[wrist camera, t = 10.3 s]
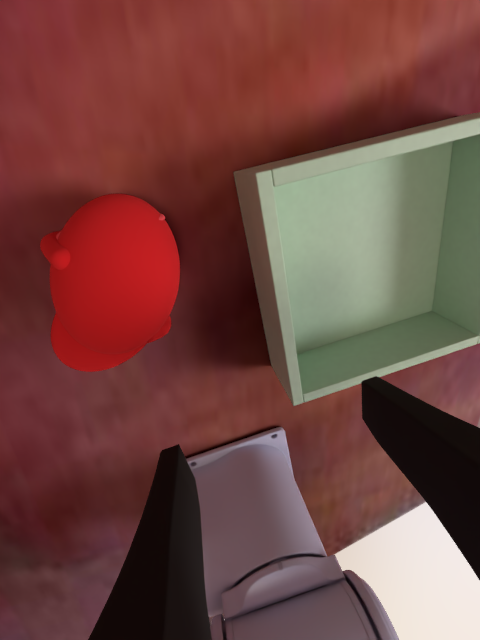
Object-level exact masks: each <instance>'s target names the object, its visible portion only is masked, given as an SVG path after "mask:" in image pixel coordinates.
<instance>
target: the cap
mask: <svg viewBox="0 0 480 640" xmlns="http://www.w3.org/2000/svg"><path fill="white" fill-rule="evenodd" d="M40 248H41V251H42V253H43V255H44V256H45V257H46V259H47V260H48V261H49V262H50V264H51V265H50V289H51V296H52V300H53V304H54V307H55V310H56V314H55V317H54V320H53V323H52V328H51V343H52V347H53V350H54V352H55V354H56V355H57V357H58V358H59V359H60V360H61V361H62V362H63V363H64V364H65V365H67V366H69V367H71V368H73V369H76V370H80V371H87V372H93V371H101V370H106V369H109V368H112V367H115V366H117V365H119V364H121V363H123V362H125V361H127V360H128V359H130V358H131V357H133V356H134V355H135V354H137V353H138V352H139V351H140V350H141V349H142V348H143V347H144V346H145V345H146V344H147V343H150V342H153V341H155V340H157V339H159V338H161V337H163V336H164V335H166V334H167V333H168V332H169V330H170V328H171V318H170V313H171V310H172V308H173V306H174V303H175V300H176V297H177V293H178V288H179V280H180V261H179V254H178V249H177V245H176V242H175V239H174V236H173V234H172V231H171V229H170V227H169V226H168V224H167V222H166V221H165V216H164V215H163V214H161V213H159V212H158V211H157V210H156V209H155V208H154V207H152V206H151V205H150V204H148V203H147V202H145V201H144V200H142V199H140V198H137V197H135V196H131V195H127V194H108V195H104V196H101V197H98V198H95V199H93V200H91V201H89V202H88V203H86V204H85V205H83V206H82V207H81V208H79V209H78V210H77V211H76V212H75V213H74V214H73V215H72V216H71V218H70V219H69V220H68V221H67V223H66V224H65V226H64V227H63V229H62V231H57V232H52V233H49V234H47V235H46V236H44V237H43V238H42V240H41V243H40Z"/></svg>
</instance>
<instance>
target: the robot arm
mask: <svg viewBox="0 0 480 640" xmlns="http://www.w3.org/2000/svg"><path fill="white" fill-rule="evenodd" d="M362 418H363V420H364V422H365V423H366V425H367V426H368V428H369V430H370V431H371V433H372V434H373V436H374V437H375V439H376V440H377V442H378V443H379V444H380V446H381V447H382V448H383V449H384V451H385V452H386V453H387V454H388V455H389V457H390V458H391V459H392V460H393V462H394V463H395V464H396V465H397V466H398V468H399V469H400V470H401V471H402V473H403V474H404V475H405V476H406V477H407V479H408V480H409V481H410V482H411V483H412V485H413V486H414V487H415V488H416V490H417V491H418V492H419V493H420V494H421V496H422V497H423V498H424V499H425V501H426V502H427V503H428V505H429V506H430V507H431V509H432V510H433V511H434V513H435V514H436V516H437V517H438V518H439V520H440V522H441V523H442V524H443V526H444V527H445V529H446V530H447V532H448V533H449V534H450V536H451V537H452V539H453V540H454V542H455V543H456V545H457V546H458V548H459V549H460V551H461V552H462V554H463V555H464V557H465V558H466V560H467V561H468V563H469V564H470V566H471V567H472V569H473V571H474V572H475V574H476V575H477V577H478V578H479V580H480V428H478V427H476V426H474V425H472V424H469V423H467V422H465V421H463V420H461V419H458V418H456V417H454V416H452V415H450V414H448V413H446V412H443V411H441V410H439V409H437V408H435V407H433V406H431V405H429V404H427V403H426V402H424V401H422V400H420V399H418V398H416V397H414V396H412V395H410V394H408V393H407V392H405V391H403V390H401V389H399V388H397V387H395V386H394V385H392V384H390V383H388V382H386V381H384V380H383V379H381V378H379V377H377V376H375V377H372V378H369V379H366V380H363V381H362ZM273 434H274V435H273ZM222 614H224V618H223V615H222ZM215 615H216V616H215ZM212 616H214V617H213V619H212V624H211V626H210V623H209V617H212ZM224 619H225V620H224ZM88 640H399V638H398V636H397V634H396V632H395V629H394V627H393V625H392V623H391V621H390V619H389V617H388V615H387V613H386V611H385V610H384V608H383V606H382V604H381V602H380V601H379V599H378V597H377V596H376V594H375V593H374V591H373V590H372V589H371V587H370V586H369V585H368V584H367V583H366V582H365V581H364V580H363V579H361V578H360V577H359V576H358V575H357V574H355V573H354V572H353V571H351V570H345V571H342V570H341V567H340V565H339V563H338V561H337V559H336V557H335V555H331V556H328V557H327V554H326V552H325V550H324V547H323V545H322V543H321V540H320V538H319V536H318V533H317V531H316V529H315V526H314V524H313V521H312V519H311V517H310V514H309V512H308V510H307V507H306V505H305V503H304V500H303V498H302V496H301V493H300V491H299V489H298V486H297V484H296V482H295V479H294V476H293V471H292V466H291V461H290V455H289V450H288V445H287V440H286V435H285V431H284V429H283V428H282V427H277V428H274V429H271V430H268V431H265V432H263V433H260V434H257V435H254V436H251V437H248V438H245V439H242V440H239V441H236V442H233V443H231V444H228V445H225V446H222V447H219V448H216V449H213V450H210V451H207V452H204V453H202V454H199V455H196V456H193V457H190V458H187V459H186V458H185V456H184V454H183V452H182V450H181V448H180V446H179V445H176V446H173V447H170V448H167V449H164V450H162V451H161V453H160V457H159V461H158V465H157V469H156V472H155V476H154V480H153V483H152V486H151V490H150V493H149V496H148V499H147V502H146V505H145V508H144V511H143V514H142V517H141V520H140V523H139V526H138V528H137V531H136V534H135V536H134V539H133V542H132V544H131V547H130V550H129V552H128V555H127V557H126V560H125V562H124V564H123V567H122V569H121V571H120V574H119V576H118V578H117V581H116V583H115V585H114V587H113V590H112V592H111V594H110V596H109V598H108V600H107V602H106V604H105V607H104V609H103V611H102V613H101V615H100V617H99V619H98V621H97V623H96V625H95V627H94V629H93V631H92V633H91V635H90V637H89V639H88Z"/></svg>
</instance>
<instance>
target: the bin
mask: <svg viewBox="0 0 480 640" xmlns="http://www.w3.org/2000/svg"><path fill="white" fill-rule="evenodd" d="M233 173H234V179H235V184H236V189H237V194H238V199H239V204H240V209H241V214H242V219H243V224H244V229H245V234H246V240H247V245H248V250H249V255H250V260H251V265H252V270H253V275H254V280H255V285H256V290H257V296H258V301H259V306H260V311H261V316H262V321H263V326H264V331H265V336H266V341H267V346H268V352H269V357H270V362H271V366H272V368H273V370H274V372H275V373H276V375H277V377H278V379H279V381H280V382H281V384H282V386H283V388H284V390H285V391H286V393H287V395H288V397H289V399H290V400H291V402H292V404H293V406H295V405H298V404H301V403H303V402H307V401H310V400H313V399H316V398H319V397H322V396H325V395H328V394H331V393H334V392H337V391H339V390H342V389H345V388H348V387H351V386H354V385H357V384H360V383H362V381H363V380H366V379H369V378H372V377H375V376H377V377H381V376H384V375H387V374H390V373H393V372H396V371H399V370H402V369H404V368H407V367H410V366H413V365H416V364H419V363H422V362H425V361H428V360H431V359H434V358H437V357H440V356H443V355H446V354H449V353H452V352H455V351H458V350H461V349H464V348H466V347H469V346H472V345H475V344H478V343H480V112H479V113H474V114H468V115H462V116H458V117H454V118H450V119H445V120H441V121H437V122H433V123H429V124H425V125H421V126H417V127H413V128H409V129H405V130H401V131H397V132H393V133H389V134H385V135H381V136H377V137H373V138H368V139H364V140H360V141H356V142H352V143H348V144H344V145H340V146H336V147H332V148H328V149H324V150H320V151H316V152H312V153H308V154H304V155H300V156H296V157H291V158H287V159H283V160H279V161H275V162H271V163H267V164H263V165H259V166H255V167H251V168H247V169H243V170H239V171H235V172H233Z"/></svg>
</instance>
